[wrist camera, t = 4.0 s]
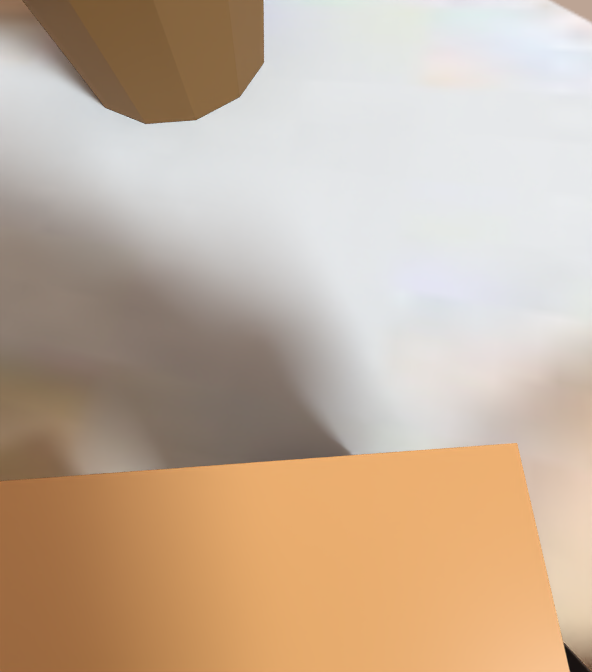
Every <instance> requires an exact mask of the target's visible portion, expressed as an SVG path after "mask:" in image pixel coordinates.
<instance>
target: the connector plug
mask: <svg viewBox="0 0 592 672" xmlns="http://www.w3.org/2000/svg"><path fill="white" fill-rule="evenodd" d="M0 672H570V670H569V666H568V662H567V657H566V653H565V649H564V644H563V640H562V636H561V631H560V627H559V623H558V618H557V614H556V610H555V605H554V601H553V597H552V592H551V588H550V584H549V579H548V575H547V571H546V566H545V562H544V558H543V553H542V549H541V545H540V540H539V536H538V532H537V527H536V523H535V519H534V514H533V510H532V506H531V501H530V497H529V493H528V488H527V484H526V480H525V476H524V471H523V467H522V463H521V458H520V454H519V450H518V445H517V443H512V444H498V445H484V446H471V447H457V448H444V449H430V450H416V451H403V452H389V453H376V454H362V455H348V456H335V457H321V458H308V459H294V460H280V461H267V462H253V463H240V464H226V465H212V466H199V467H185V468H171V469H158V470H144V471H131V472H117V473H103V474H90V475H76V476H63V477H49V478H35V479H22V480H8V481H0Z"/></svg>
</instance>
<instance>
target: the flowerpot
mask: <svg viewBox="0 0 592 672" xmlns="http://www.w3.org/2000/svg"><path fill="white" fill-rule="evenodd" d="M23 2H24V3H25V4H26V6H27V7H28V8H29V10H30V11H31V12H32V13H33V15H34V16H35V17H36V19H37V20H38V21H39V22H40V24H41V25H42V26H43V28H44V29H45V30H46V32H47V33H48V34H49V35H50V37H51V38H52V39H53V41H54V42H55V43H56V44H57V46H58V47H59V48H60V50H61V51H62V52H63V54H64V55H65V56H66V57H67V59H68V60H69V61H70V63H71V64H72V65H73V66H74V68H75V69H76V70H77V72H78V73H79V74H80V76H81V77H82V78H83V79H84V81H85V82H86V83H87V85H88V86H89V87H90V89H91V90H92V91H93V92H94V94H95V95H96V96H97V98H98V99H99V100H100V101H101V103H102V104H103V105H104V107H105V108H107V109H110V110H112V111H115V112H117V113H120V114H122V115H125V116H127V117H130V118H132V119H135V120H137V121H140V122H142V123H145V124H150V123H163V122H176V121H189V120H197V119H199V118H201V117H203V116H204V115H206V114H208V113H210V112H212V111H214V110H216V109H218V108H220V107H222V106H224V105H225V104H227V103H229V102H231V101H233V100H235V99H237V98H239V97H240V96H241V94H242V93H243V92H244V90H245V89H246V87H247V86H248V85H249V83H250V82H251V80H252V79H253V77H254V76H255V75H256V73H257V72H258V70H259V69H260V67H261V66H262V65H263V63H264V11H263V0H23Z"/></svg>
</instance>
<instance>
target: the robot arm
mask: <svg viewBox="0 0 592 672" xmlns="http://www.w3.org/2000/svg"><path fill="white" fill-rule="evenodd" d="M563 644H564V649H565V653H566V657H567V662H568V666H569V670H570V672H591V671H590V670H589V669H588V668H587V667H586V666H585V665H584V664H583V663H582V662H581V660H580V659H579V658H578V657H577V656H576V655H575V654H574V653H573V652H572V651H571V650H570V649H569V647H568V646H567V645H566V644H565V643H563Z"/></svg>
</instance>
